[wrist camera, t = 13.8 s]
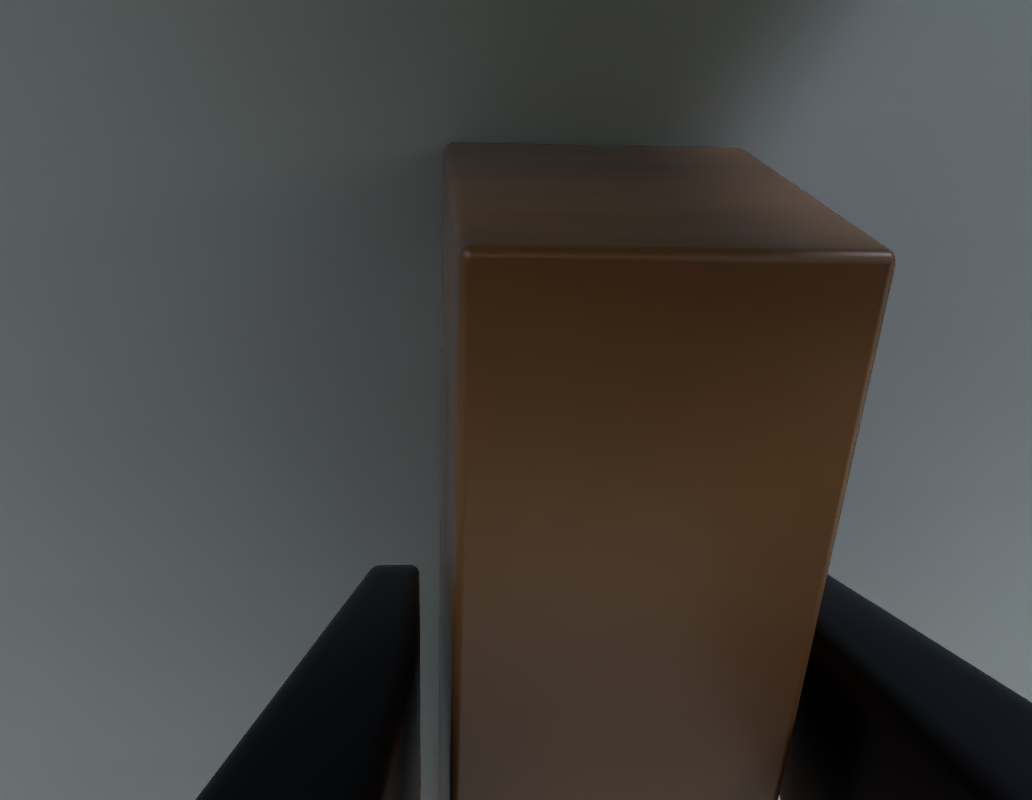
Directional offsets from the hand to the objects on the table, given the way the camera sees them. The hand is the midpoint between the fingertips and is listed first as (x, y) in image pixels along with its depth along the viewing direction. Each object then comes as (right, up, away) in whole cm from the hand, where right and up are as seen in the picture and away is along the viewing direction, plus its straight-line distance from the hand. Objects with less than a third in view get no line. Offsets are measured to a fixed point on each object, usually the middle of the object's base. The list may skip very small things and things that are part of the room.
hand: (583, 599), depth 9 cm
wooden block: (0, 0, +1) cm, 1 cm away
